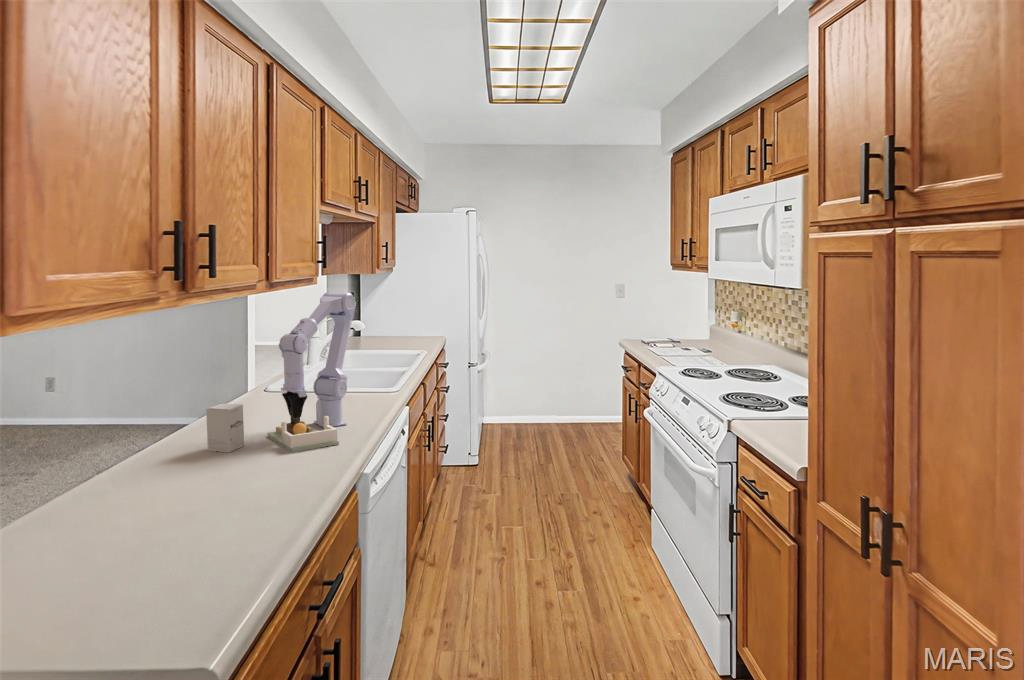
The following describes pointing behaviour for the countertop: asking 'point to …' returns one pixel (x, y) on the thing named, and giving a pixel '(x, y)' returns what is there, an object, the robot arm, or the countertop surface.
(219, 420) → the supplement box
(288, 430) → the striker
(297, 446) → the pitch
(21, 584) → the countertop surface
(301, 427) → the ball
